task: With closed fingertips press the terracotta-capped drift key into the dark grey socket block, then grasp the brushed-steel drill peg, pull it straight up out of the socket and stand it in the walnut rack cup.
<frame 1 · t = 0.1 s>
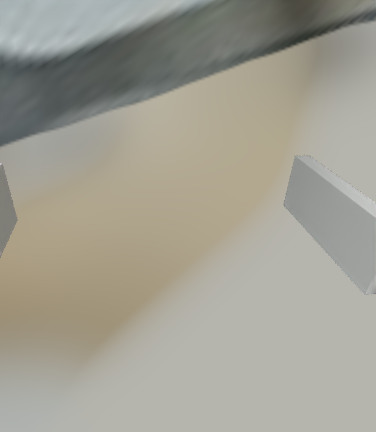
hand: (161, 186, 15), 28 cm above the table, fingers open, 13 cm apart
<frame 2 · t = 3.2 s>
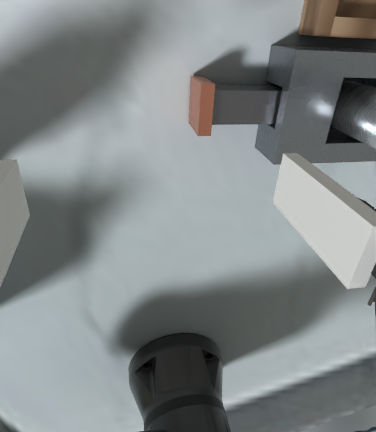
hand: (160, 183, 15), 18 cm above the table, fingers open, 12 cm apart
drift key: (236, 105, 30), point 2 cm above the table, slide at 0.0 cm
socket block: (332, 100, 35), on the table
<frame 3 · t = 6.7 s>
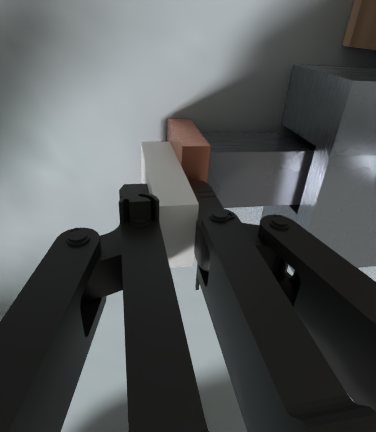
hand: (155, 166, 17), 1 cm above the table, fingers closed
drift key: (249, 172, 17), point 2 cm above the table, slide at 1.1 cm, touching gripper
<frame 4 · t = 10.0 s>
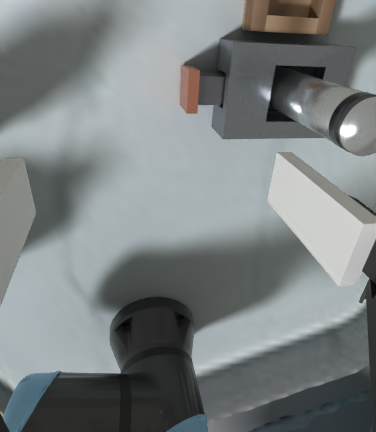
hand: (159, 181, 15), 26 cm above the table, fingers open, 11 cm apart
drill peg: (313, 103, 33), in the socket block
drift key: (219, 89, 37), point 2 cm above the table, slide at 3.4 cm
socket block: (276, 86, 41), on the table
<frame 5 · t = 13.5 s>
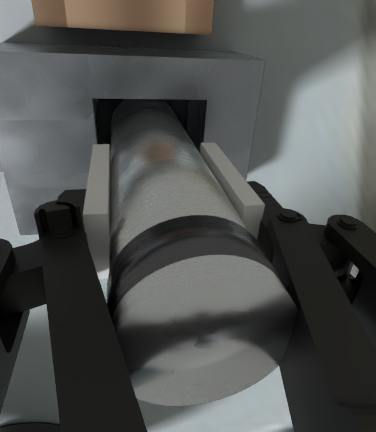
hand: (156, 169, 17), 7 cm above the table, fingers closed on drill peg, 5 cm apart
drill peg: (160, 184, 15), in the socket block, touching gripper
drift key: (7, 140, 19), point 2 cm above the table, slide at 3.4 cm
socket block: (144, 128, 23), on the table
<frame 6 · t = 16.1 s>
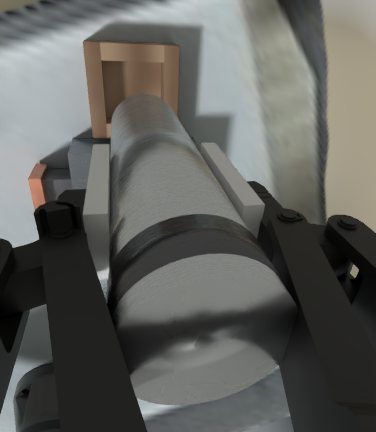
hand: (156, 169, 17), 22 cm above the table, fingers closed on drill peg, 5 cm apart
drill peg: (160, 183, 15), point 24 cm above the table, touching gripper
drift key: (74, 187, 37), point 2 cm above the table, slide at 3.4 cm
socket block: (143, 176, 41), on the table
rack: (132, 88, 35), on the table
when the fingers open (9 cm above the table, at t = 18.6 s): drill peg drops 1 cm, resting on rack.
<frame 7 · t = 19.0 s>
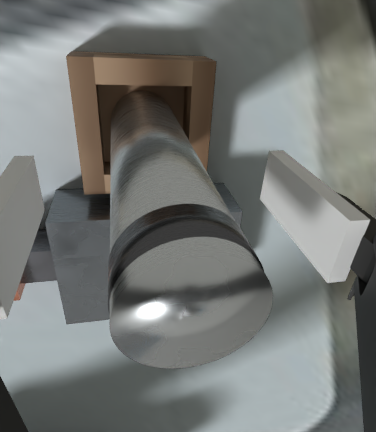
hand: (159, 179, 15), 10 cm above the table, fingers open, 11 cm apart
drill peg: (157, 176, 16), in the rack, point 10 cm above the table
drift key: (58, 257, 26), point 2 cm above the table, slide at 3.4 cm
socket block: (155, 234, 30), on the table
rack: (142, 120, 24), on the table
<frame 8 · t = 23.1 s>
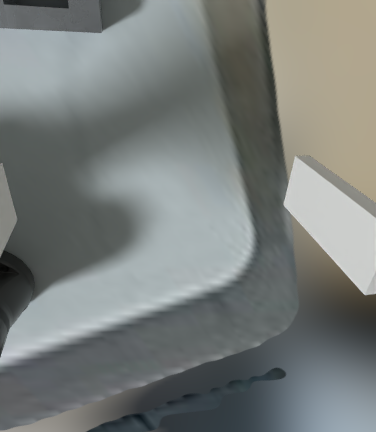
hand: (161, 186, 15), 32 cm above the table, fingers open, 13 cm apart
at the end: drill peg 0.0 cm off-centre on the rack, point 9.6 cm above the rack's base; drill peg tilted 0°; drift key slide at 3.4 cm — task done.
